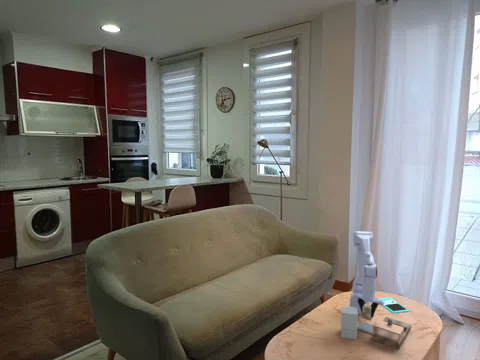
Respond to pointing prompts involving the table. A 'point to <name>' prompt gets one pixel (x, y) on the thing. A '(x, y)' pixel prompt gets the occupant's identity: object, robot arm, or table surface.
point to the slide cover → (389, 328)
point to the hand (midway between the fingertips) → (367, 315)
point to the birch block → (366, 312)
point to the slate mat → (365, 327)
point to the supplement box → (349, 322)
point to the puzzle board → (391, 334)
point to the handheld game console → (393, 306)
